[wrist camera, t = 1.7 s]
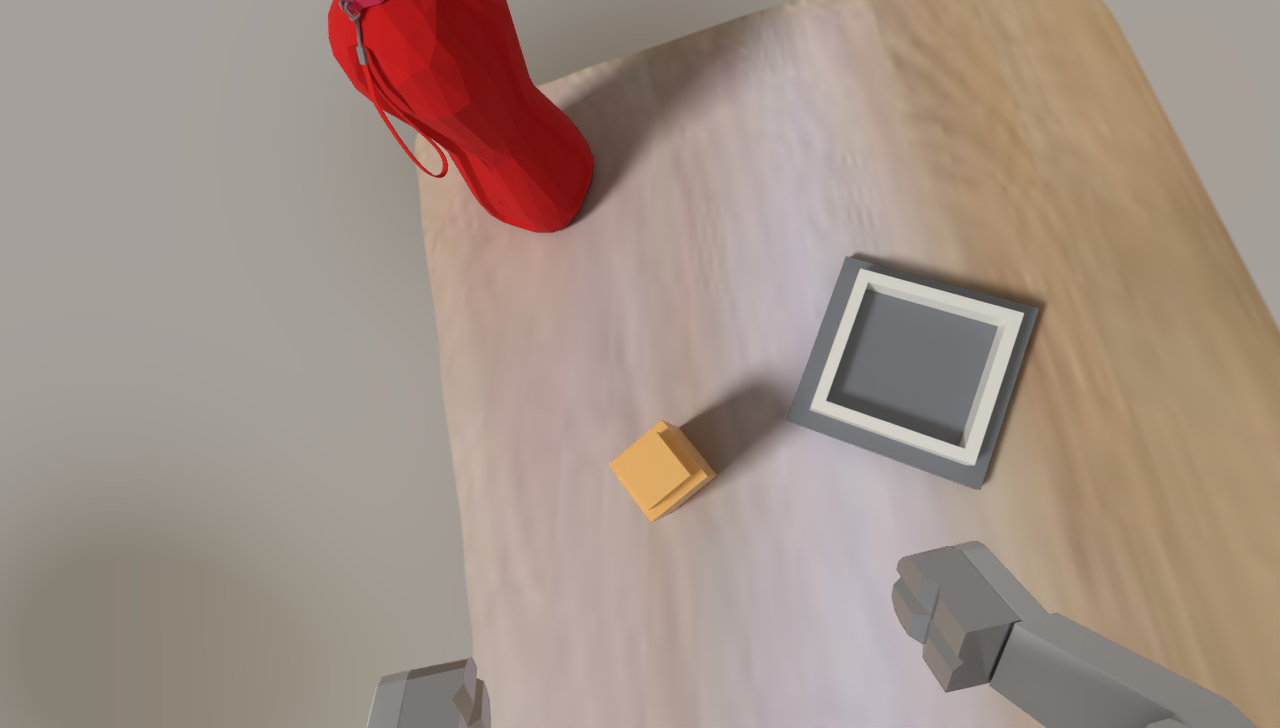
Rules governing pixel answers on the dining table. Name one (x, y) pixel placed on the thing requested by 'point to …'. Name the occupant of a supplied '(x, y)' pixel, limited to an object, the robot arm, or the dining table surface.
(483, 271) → the dining table surface
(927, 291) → the base
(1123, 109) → the dining table surface
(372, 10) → the water bottle
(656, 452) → the stepped orange block
